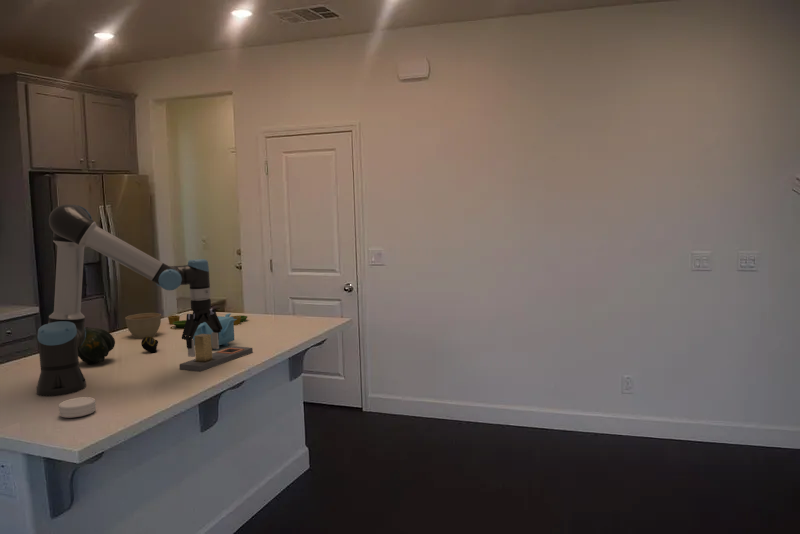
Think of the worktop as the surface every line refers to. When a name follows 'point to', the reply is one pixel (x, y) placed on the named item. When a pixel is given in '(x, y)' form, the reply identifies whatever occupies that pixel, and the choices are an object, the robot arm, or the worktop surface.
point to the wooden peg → (203, 348)
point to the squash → (95, 345)
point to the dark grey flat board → (217, 358)
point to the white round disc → (77, 407)
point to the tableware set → (181, 324)
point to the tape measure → (149, 344)
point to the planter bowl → (143, 324)
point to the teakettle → (226, 332)
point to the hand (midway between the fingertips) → (203, 352)
